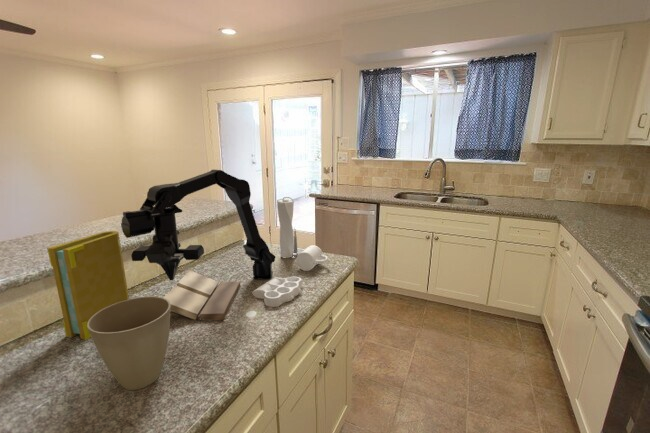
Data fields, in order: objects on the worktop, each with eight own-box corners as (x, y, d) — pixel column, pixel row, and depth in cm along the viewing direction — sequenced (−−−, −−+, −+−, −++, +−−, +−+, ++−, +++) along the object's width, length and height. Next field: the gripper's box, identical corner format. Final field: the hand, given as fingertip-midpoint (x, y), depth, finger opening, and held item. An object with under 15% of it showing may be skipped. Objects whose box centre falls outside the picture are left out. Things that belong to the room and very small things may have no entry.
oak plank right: (216, 286, 113) (218, 281, 113) (208, 300, 104) (210, 294, 103) (187, 275, 112) (189, 270, 112) (175, 287, 102) (177, 282, 102)
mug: (296, 269, 129) (295, 251, 127) (306, 261, 138) (305, 244, 136) (323, 273, 125) (323, 254, 123) (331, 264, 134) (331, 247, 132)
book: (86, 339, 83) (69, 249, 78) (65, 336, 85) (47, 248, 79) (136, 307, 99) (124, 231, 94) (118, 305, 101) (105, 230, 95)
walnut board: (240, 286, 114) (240, 281, 113) (224, 319, 92) (223, 313, 92) (219, 287, 114) (218, 281, 113) (197, 320, 92) (197, 314, 92)
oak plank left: (206, 303, 102) (208, 297, 101) (195, 319, 92) (197, 314, 92) (173, 290, 100) (175, 285, 100) (158, 306, 91) (160, 300, 90)
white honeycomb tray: (277, 280, 120) (311, 288, 113) (246, 301, 104) (283, 311, 98) (277, 272, 119) (311, 279, 113) (245, 292, 103) (283, 301, 97)
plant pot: (188, 354, 77) (181, 295, 73) (159, 403, 63) (149, 332, 59) (126, 356, 77) (116, 296, 73) (82, 405, 62) (67, 334, 58)
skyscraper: (295, 259, 140) (294, 197, 134) (277, 259, 141) (275, 197, 134) (297, 253, 149) (296, 194, 142) (280, 252, 149) (278, 194, 143)
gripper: (115, 238, 83) (124, 293, 86) (188, 237, 83) (193, 291, 87) (138, 227, 93) (145, 276, 97) (202, 226, 94) (207, 274, 98)
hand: (172, 279), depth 94 cm, fingers closed
